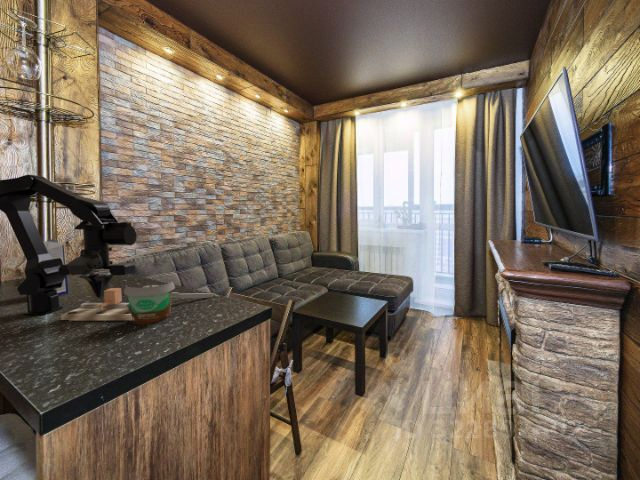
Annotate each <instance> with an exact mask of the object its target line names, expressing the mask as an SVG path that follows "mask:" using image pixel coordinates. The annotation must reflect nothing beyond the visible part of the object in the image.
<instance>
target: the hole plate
mask: <svg viewBox="0 0 640 480" xmlns="http://www.w3.org/2000/svg"><path fill="white" fill-rule="evenodd" d="M102 303H103V302H84V303H81V304H80V306H79V307H77V308H76V309H72V310H70V311H68V312H65V313H62V314H60V320H69V321H132V317H131V311H130V306H129V302H119V303H117V304H107V305H105V306H103V311H100V307H99V304H102Z"/></svg>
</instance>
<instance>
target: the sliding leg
mask: <svg viewBox="0 0 640 480" xmlns="http://www.w3.org/2000/svg"><path fill="white" fill-rule="evenodd" d="M122 298H123V297H122V287H111V288H108V289H106V290H105V291H104V294H103V299H104V302H101V303H102V304H99V307H100V311H103V306H105V305H107V304H117V303H122V301H123V299H122Z"/></svg>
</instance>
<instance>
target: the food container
mask: <svg viewBox="0 0 640 480" xmlns="http://www.w3.org/2000/svg"><path fill="white" fill-rule="evenodd" d="M174 289H176V286H175V283H174V282H173V280H172V281H171V282H169V283H165V284H146V285H142V286H137V287H130V286H127V284H126V285H125V287H124V292H123V293H124V295H125V296H127V299H128V303H129V306H130V311H131V317H132V320H131V321H132V323H134V324H137V325H152V324H156V323H161V322H164V321H165V320H168V319H169V318H170V317H171V310H172V301H171V299H172V292H173V290H174Z"/></svg>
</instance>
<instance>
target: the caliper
mask: <svg viewBox="0 0 640 480" xmlns="http://www.w3.org/2000/svg"><path fill="white" fill-rule="evenodd" d="M214 295H215V296H214ZM213 296H214V297H218V296H219V295H217V294H216V293H213V292H202V293H201V292H200V293H199V292H198V293H197V292H195V293H193V292H192V293H191V292H190V293H187V292H186V293H180V292H178V291H177V292H175V291H174V292H173V291H172V299H171V302H178V301H179V300H180V299H208V298H209V299H211V298H214V297H213ZM210 297H211V298H210Z"/></svg>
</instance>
